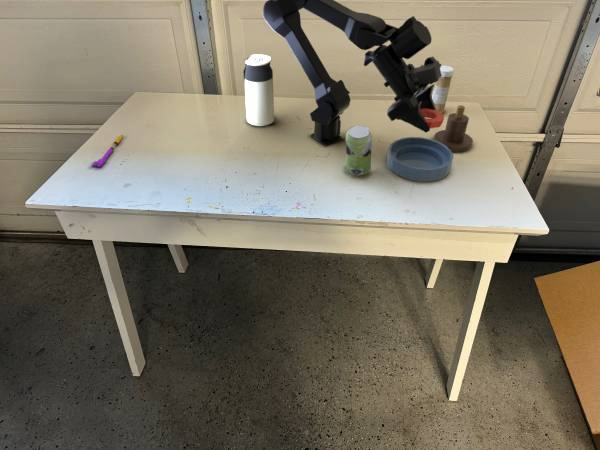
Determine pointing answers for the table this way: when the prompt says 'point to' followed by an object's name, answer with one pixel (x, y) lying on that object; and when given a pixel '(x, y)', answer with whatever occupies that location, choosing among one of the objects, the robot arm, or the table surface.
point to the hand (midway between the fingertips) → (432, 125)
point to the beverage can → (358, 150)
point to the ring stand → (455, 132)
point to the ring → (432, 117)
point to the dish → (419, 158)
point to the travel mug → (259, 90)
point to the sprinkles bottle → (442, 88)
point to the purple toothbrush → (107, 154)
